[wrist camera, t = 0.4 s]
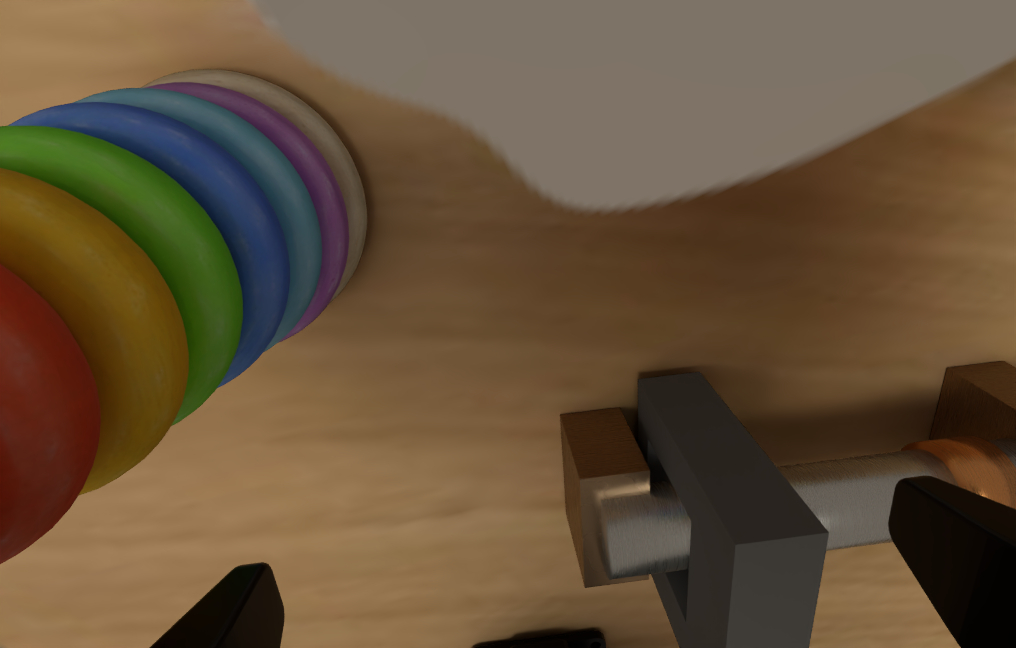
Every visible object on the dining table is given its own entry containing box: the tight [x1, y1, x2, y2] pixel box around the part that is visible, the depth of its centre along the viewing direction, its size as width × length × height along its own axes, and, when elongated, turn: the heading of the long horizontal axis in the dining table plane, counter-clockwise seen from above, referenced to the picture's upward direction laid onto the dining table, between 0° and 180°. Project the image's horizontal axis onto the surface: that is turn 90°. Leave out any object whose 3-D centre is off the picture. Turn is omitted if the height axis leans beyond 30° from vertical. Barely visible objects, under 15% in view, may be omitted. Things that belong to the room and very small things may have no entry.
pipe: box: [560, 361, 1016, 588], centre depth 22 cm, size 18×5×6 cm, turn 95°
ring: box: [638, 372, 829, 648], centre depth 20 cm, size 2×8×8 cm, turn 5°
